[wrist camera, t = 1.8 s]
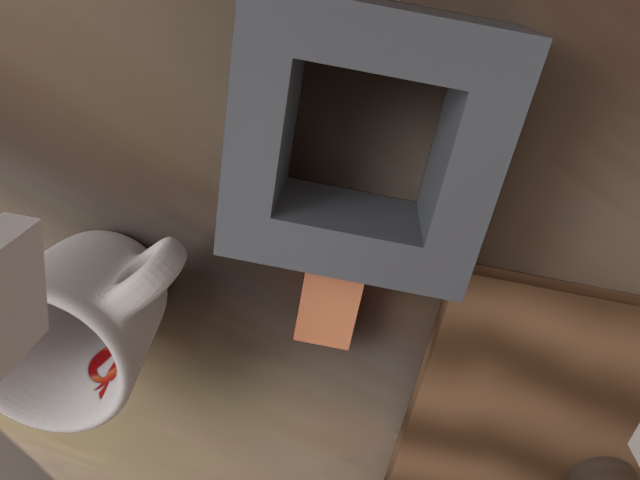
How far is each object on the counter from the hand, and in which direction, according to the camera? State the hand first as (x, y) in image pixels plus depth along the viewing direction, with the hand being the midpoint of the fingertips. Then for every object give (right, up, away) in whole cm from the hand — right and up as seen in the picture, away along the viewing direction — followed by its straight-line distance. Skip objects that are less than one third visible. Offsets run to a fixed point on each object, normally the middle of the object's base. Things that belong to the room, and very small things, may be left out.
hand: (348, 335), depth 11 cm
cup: (-11, +1, +19) cm, 22 cm away
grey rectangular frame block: (+1, +5, +16) cm, 16 cm away
